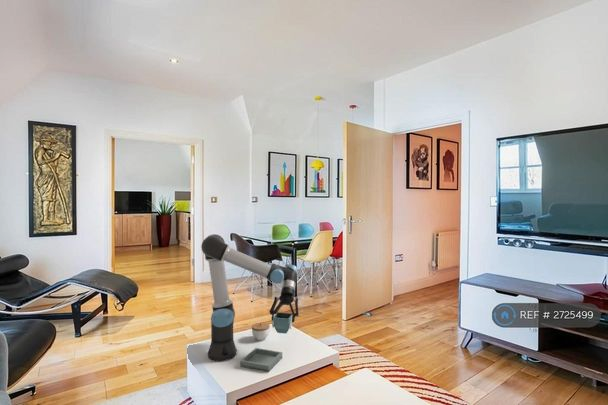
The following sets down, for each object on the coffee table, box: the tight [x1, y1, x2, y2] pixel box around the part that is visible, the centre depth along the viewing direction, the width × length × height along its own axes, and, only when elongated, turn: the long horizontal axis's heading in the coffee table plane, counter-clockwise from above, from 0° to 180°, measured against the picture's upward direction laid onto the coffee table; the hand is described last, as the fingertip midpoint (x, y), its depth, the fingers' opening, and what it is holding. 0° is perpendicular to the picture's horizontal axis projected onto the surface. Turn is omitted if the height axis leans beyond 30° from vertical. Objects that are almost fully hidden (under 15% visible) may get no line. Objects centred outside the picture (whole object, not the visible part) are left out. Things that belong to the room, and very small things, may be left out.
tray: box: [239, 347, 283, 373], centre depth 170 cm, size 16×16×3 cm
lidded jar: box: [251, 322, 270, 341], centre depth 201 cm, size 11×11×9 cm
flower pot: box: [273, 311, 292, 334], centre depth 179 cm, size 9×9×9 cm
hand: (281, 327), depth 176 cm, fingers closed on flower pot, 9 cm apart
